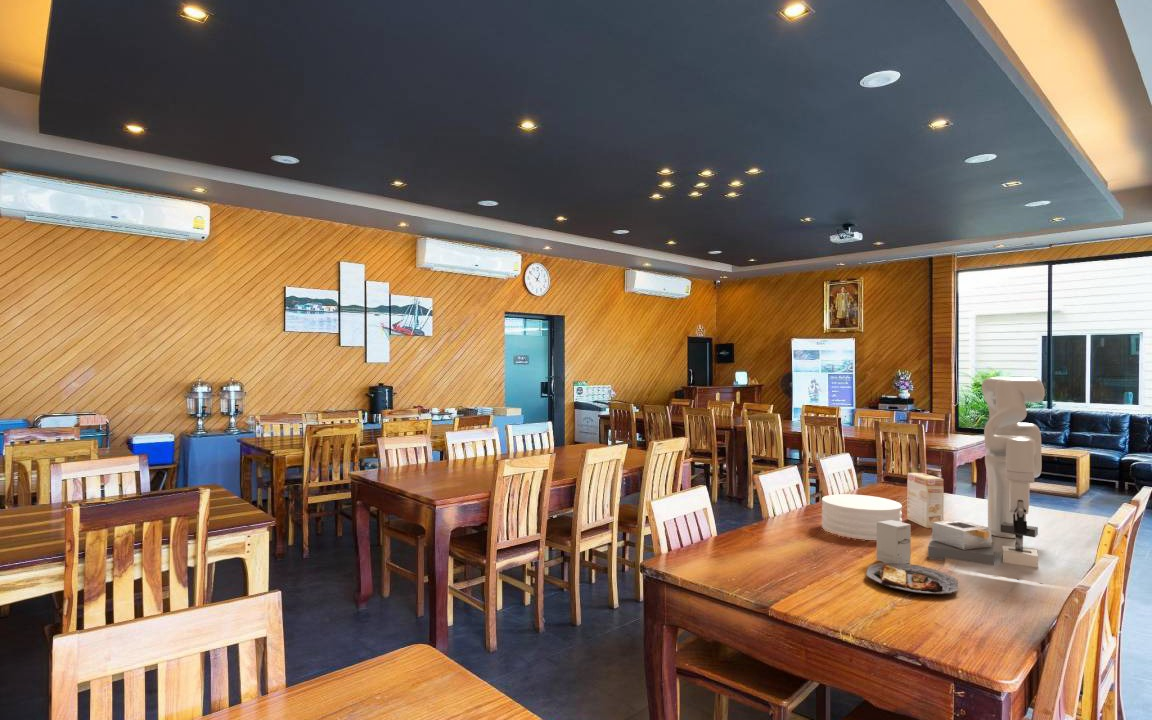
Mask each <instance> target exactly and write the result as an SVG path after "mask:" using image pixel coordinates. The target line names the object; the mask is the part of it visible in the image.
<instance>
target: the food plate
mask: <svg viewBox="0 0 1152 720" xmlns="http://www.w3.org/2000/svg"><path fill="white" fill-rule="evenodd" d="M866 569H867V570H866V572H865V576H866V577H867V578H868V579H869V580H871V581H873V582H875V583H878V584H880V585H882V586H885V587H886V588H887V587H888V588H892V589H897V590H901V591H906V592H910V593H912V594H923V595H924V594H925V595H940V596H941V595H952V593H954V594H955V593H957V591H958V587H959V585H958V582H959V581H958V579H957V578H956V577H954V576H952V575H949V574H947V573H944V572H942V571H939V570H937V569H933V568H932V567H931V568H929V567H927V566H922V565H919V564H911V563H907V564H904V563H884V562H878V563H874V564H871V565H870V564H869V565H868V567H867V568H866Z"/></svg>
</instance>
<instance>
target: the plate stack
mask: <svg viewBox="0 0 1152 720" xmlns="http://www.w3.org/2000/svg"><path fill="white" fill-rule="evenodd" d="M821 503H822V504H821V510H822V511H821V516H822V517H821V528H822V527H823V529H825V530H827V531H829V532H832V533H835V534H838V535H842V536H847V537H852V538H858V539H865V540H877V522H881V521H887V520H894V521H898V522H903V519H902V517H903V512H902V509H903V505H902V504H901V502H898V501H895V500H893V499H889V498H885V497H879V496H872V495H864V494H848V493H847V494H846V493H844V494H841V493H839V494H830V495H829V494H828V495H824V496H823V497H822V498H821ZM823 529H822V530H823ZM865 540H864V541H865Z"/></svg>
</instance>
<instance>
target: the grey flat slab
mask: <svg viewBox="0 0 1152 720" xmlns="http://www.w3.org/2000/svg"><path fill="white" fill-rule="evenodd" d="M994 545H995V543H994V541H991V547H983V548H975V549H966V550H963V549H960V548H957V547H954V546H950V545H947V544H944V543H941V542H937V541H934V540H932V536H931V537H930V541H929V542H928V545H927V558H928V559H930V560H931V559H932V560H940V561H944V562H945V561H946V559H952V560H957V561H965V562H970V563H971V562H972V563H977V564H984V565H989V566H994V565H995V563H994V562H995V561H994V560H995V557H994V554H995V551H994V549H995V548H994Z"/></svg>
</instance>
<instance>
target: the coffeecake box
mask: <svg viewBox="0 0 1152 720" xmlns="http://www.w3.org/2000/svg"><path fill="white" fill-rule="evenodd" d="M906 476H907V477H906V478H907V479H906V482H907V485H906V487H907V488H906V489H907V490H906V494H907V499H906V500H907V501H906V508H907V510H906V514H907V516H906V518H907V520H909V521H911V522H913V523H915V524H917V525H919V526H921V527H924V528H926V529H932V522H940V521H944V507H945V506H944V491H945V490H944V486H945V485H944V483H945V482H944V480H945V479H944V478H941V477H938V476H935V475H930V474H927V473H925V472H907V475H906Z"/></svg>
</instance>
